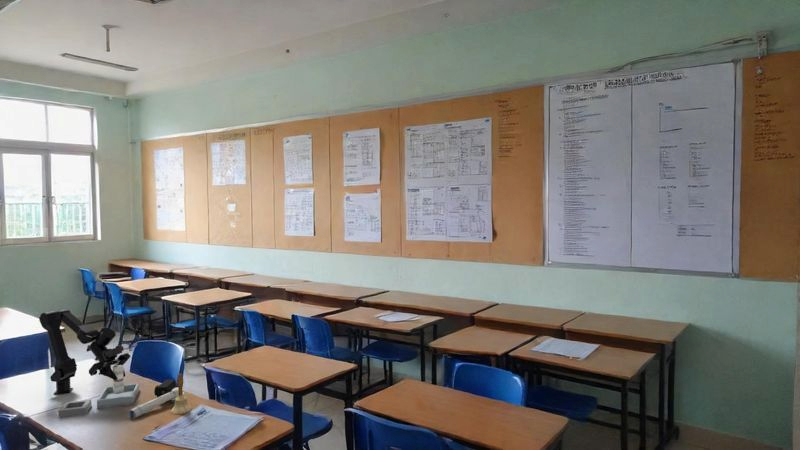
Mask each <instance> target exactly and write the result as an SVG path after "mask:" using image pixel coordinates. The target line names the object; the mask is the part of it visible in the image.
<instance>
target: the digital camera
mask: <svg viewBox="0 0 800 450" xmlns="http://www.w3.org/2000/svg"><path fill="white" fill-rule="evenodd" d="M174 388H176V379H166V380H164V381H162V383H161V384H159V385H156V386H155V388H154V392H153V393H154V396H156V398H158V397H160V396H162V395H164V394H167V393H169V392H171V391H172V389H174Z"/></svg>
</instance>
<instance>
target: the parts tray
mask: <svg viewBox="0 0 800 450" xmlns="http://www.w3.org/2000/svg"><path fill="white" fill-rule="evenodd" d="M113 386H114V385H113ZM113 386H112V385H111V386H105V388H104V389H103V390H102V391H101V393H100V395H99V396H98V398H97V400H96V409H103V408H104V409H105V408H111V407H113V408H114V407H120V406H121V407H122V406H128V405H129V406H130V405H133V404H134V402H135V401H136V398H137V396H138V394H139V391H140V384H139V383H131V384H130V383H129V384H124V392H123V393H120V394H113Z"/></svg>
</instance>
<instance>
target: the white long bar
mask: <svg viewBox="0 0 800 450" xmlns="http://www.w3.org/2000/svg"><path fill="white" fill-rule="evenodd" d="M183 396H185V392H184V391H183ZM177 397H179V389H178V386H177V387H176V386H175V388H174V389H172V391H171V392H169V393H167V394H164V395H162V396H160V397H158V398H157V397H156V398H154V399H151V400H148V401H147V402H144V403H141V404H139V405H136V406H135V407H134V408H132V409H130V410H129V411H128V416H129V418H130V419H133V420H134V419H136V418H138V417H142V416H143V415H144V414H146V413H147V412H150V411H152V410H153V409H155V408H157V407H159V406H161V405H163V404H165V403H167V402H168V401H171V403H173V404H175V399H176V398H177Z"/></svg>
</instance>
